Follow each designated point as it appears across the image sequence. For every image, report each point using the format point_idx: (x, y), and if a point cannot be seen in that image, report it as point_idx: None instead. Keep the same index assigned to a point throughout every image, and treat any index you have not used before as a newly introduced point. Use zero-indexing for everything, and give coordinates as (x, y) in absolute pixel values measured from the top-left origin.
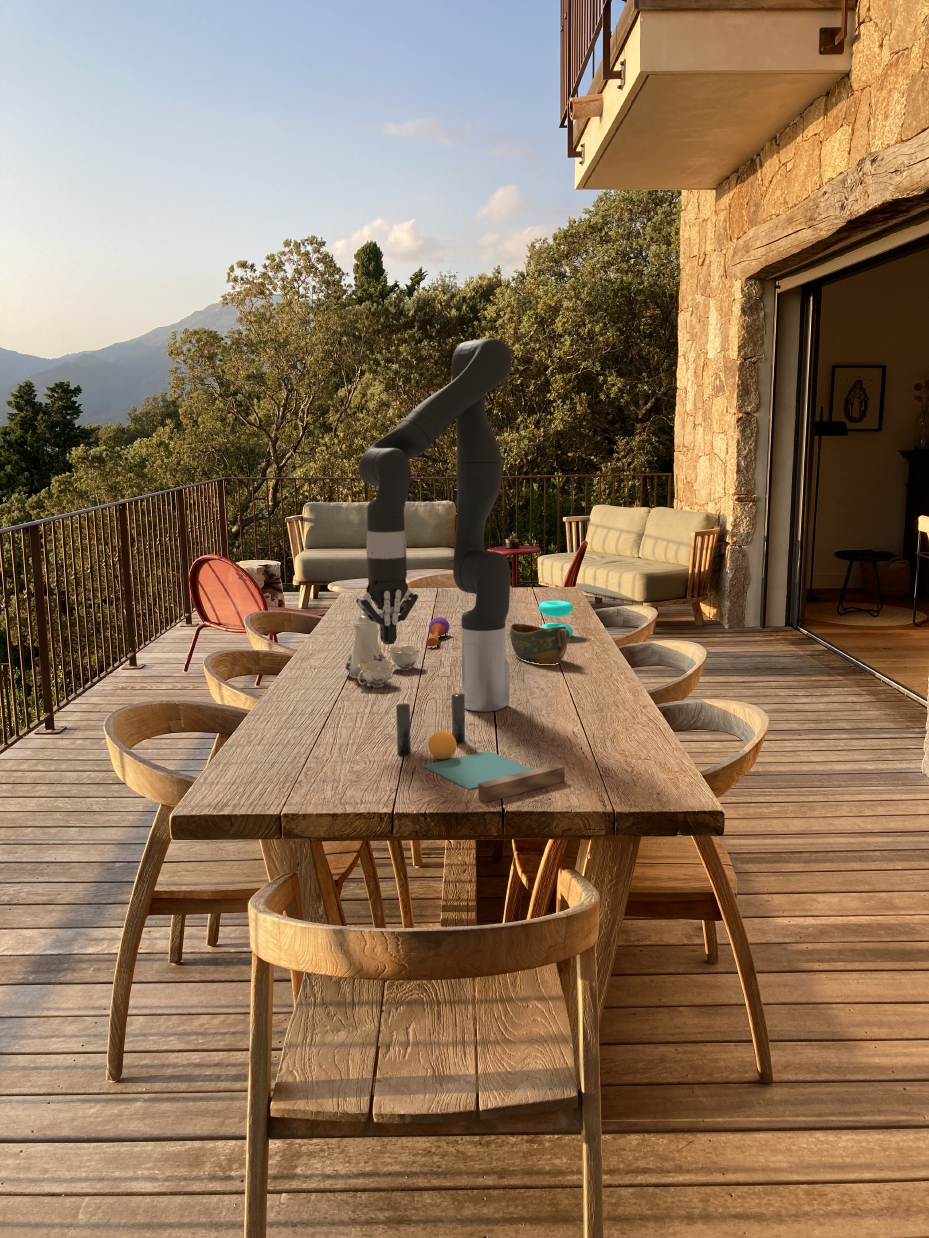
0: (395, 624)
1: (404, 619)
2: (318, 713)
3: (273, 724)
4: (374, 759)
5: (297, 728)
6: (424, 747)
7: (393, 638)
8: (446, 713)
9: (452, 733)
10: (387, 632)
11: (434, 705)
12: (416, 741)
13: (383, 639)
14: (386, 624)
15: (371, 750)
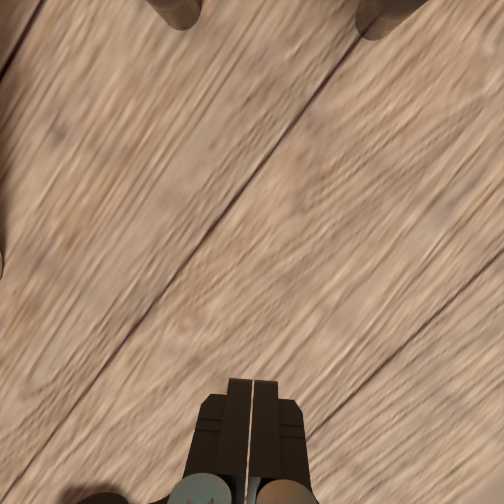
0: (202, 475)
1: (89, 500)
2: (327, 454)
3: (459, 447)
4: (472, 29)
5: (439, 390)
6: (293, 30)
7: (235, 396)
8: (65, 264)
9: (194, 6)
10: (278, 441)
11: (56, 341)
12: (277, 98)
13: (300, 418)
14: (298, 494)
15: (423, 111)
